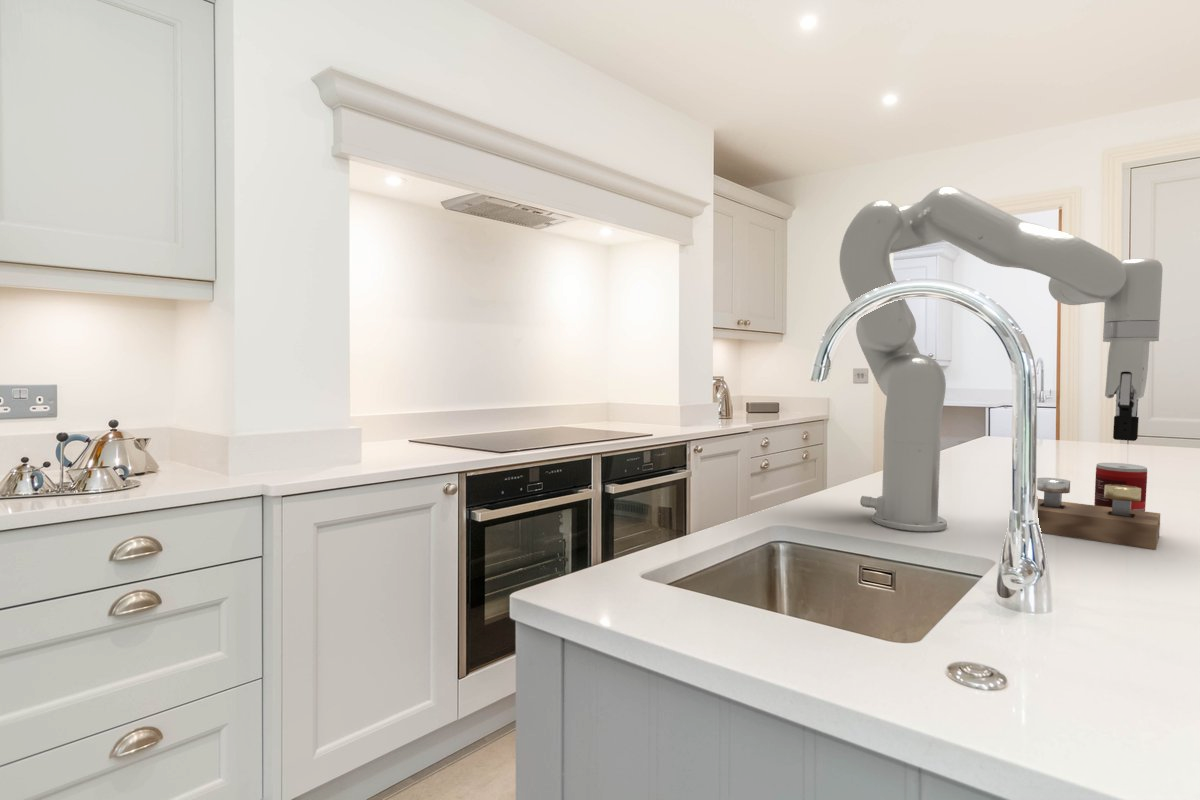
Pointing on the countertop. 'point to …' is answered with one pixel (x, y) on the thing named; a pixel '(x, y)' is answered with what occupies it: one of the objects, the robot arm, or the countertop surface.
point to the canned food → (1120, 482)
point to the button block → (1100, 524)
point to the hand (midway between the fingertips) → (1125, 439)
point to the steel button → (1053, 490)
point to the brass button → (1122, 498)
